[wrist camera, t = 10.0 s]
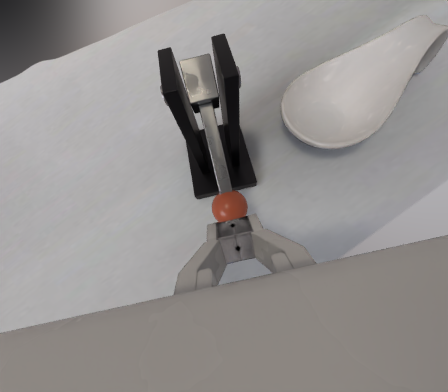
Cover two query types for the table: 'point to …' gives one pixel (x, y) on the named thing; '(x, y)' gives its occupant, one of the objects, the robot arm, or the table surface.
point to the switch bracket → (229, 131)
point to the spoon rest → (359, 86)
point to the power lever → (212, 133)
